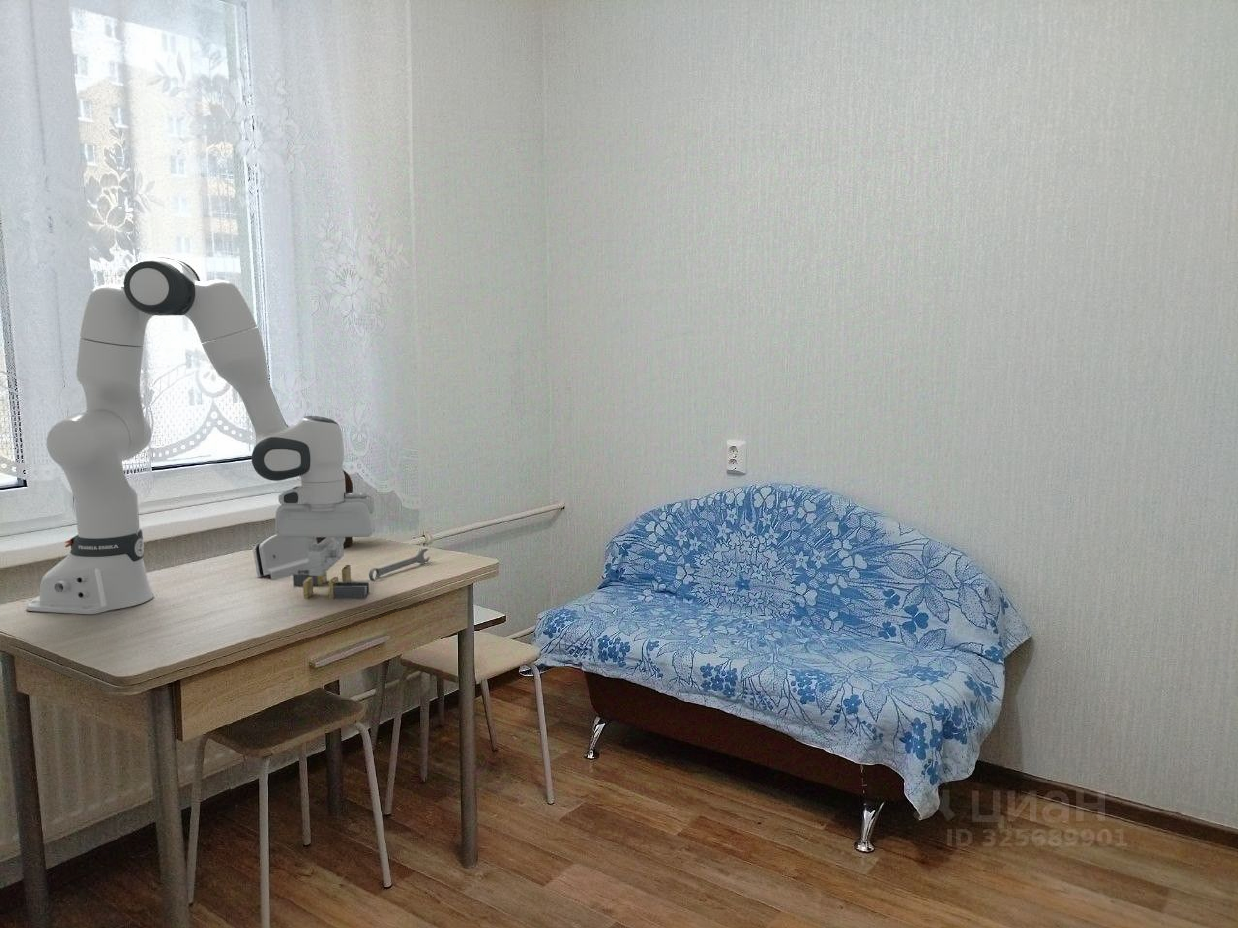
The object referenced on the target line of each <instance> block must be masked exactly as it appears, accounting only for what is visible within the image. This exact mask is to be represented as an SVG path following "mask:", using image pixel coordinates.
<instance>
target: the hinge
mask: <svg viewBox="0 0 1238 928" xmlns="http://www.w3.org/2000/svg"><path fill="white" fill-rule="evenodd" d="M314 542H315V544H316V545H317V544H318V543H317V541H316V540H315V541H314ZM310 550H311V548H310V546H309V545H308V543H307V537H292V538H280V537H279V536H278V535H277V534H276V533H275V534H274V535H271V536H269V537H266V538H265V539H263V540H262V541H260V542H259V543H258V544H256V545H255V546H254V547H253V548H252V553H253V557H254V558H253V559H254V563H255V564H254V565H255V570H256V576H257V578H262V577H266V576H270V579H271V580H272V581H274V580H278V579H281V578H285V577H288V576H293V574H298V570H309V561H308V551H310Z"/></svg>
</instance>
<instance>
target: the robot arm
mask: <svg viewBox="0 0 1238 928" xmlns="http://www.w3.org/2000/svg"><path fill="white" fill-rule="evenodd" d="M154 316H160V317H161V316H164V317H165V316H185V317H186V318H188V320H190V321H191V323H192V325H193V326H194V328H195V330H196V332H197V334H198V337H199V340H200V343H201V345H202V348H203V350H204V352H205V354H206V356H207V359H208V360H209V362H210V365H212V367H213V368H214V370H215V372H216V373H217V374H218V376H219V377H221V379H223V380H225V381H226V382H227V383H228V384H230V386H232V388H233V389H234V390H235V391H236V392H237V394H238V395H239V397H240V398H241V401H242V402H243V405H244V408H245V411H246V413H247V415H248V417H249V420H250V422H251V425H252V426H253V427H252V428H253V430H254V433H255V446H254V448H253V450H252V454H251V464H252V466H253V467H252V468H254V470H255V472H256V473H257V474H258V475H259V476H260V477H261V478H264V479H266V480H268V481H274V482H280V481H281V482H282V481H285V480H289V479H293V478H296V477H300V480H301V481H300V485H298V486H295V487H293V488H290V489H287V490H285V491H283V492H281V493H280V494H279V495H278V503H279V504H280V505H279V506H278V507H277V508H276V511H275V518H274V519H275V520H274V523H275V524H274V525H275V526H274V528H275V529H274V531H275V535H276V534H277V535H278V536H279V537H280V538H292V537H307V543H308V545H309V546H310V548H311V549H312V548H314V547H315V546H316V544H315V542H314V541H315V540H316V537H336V542H339V544H338V545H337V547H336V548H333V549H332V550H331V552H332V558H339V557H340V556H341V547H342V545H343V544H344V542H345V537H353V538H369V537H371V536H372V535H373V534H374V532H375V530H376V524H375V516H374V511H375V501H374V498H373V497H372V495H369V494H368V493H367V492H360V493H359V492H358V493H357V492H353V493H346V488H345V475H344V472H343V470H344V468H343V467H344V465H343V464H344V461H345V449H344V439H343V433H342V429H341V426H340V425H339V424H338V422H336V421H335V420H334V419H332V418H330V417H329V418H328V417H325V416H319V415H318V416H317V415H305V416H302V418H301V419H299V420H298V421H296V422H295V423H294V424H291V425H290V426H289V425H288V424H287V423H286V421H285V419H284V417H283V414H282V412H281V409H280V406H279V405H278V403H277V399H276V397H275V395H274V392H273V389H272V386H271V384H270V379H269V373H268V363H267V356H266V352H265V351H266V350H265V347H264V342H263V339H262V336H261V332H260V331H259V327H258V324H257V322H256V320H255V318H254V316H253V314H252V311H251V309H250V307H249V306H248V303H247V301H246V300H245V298H244V296H243V294H242V293H241V292H240V290H239V288H238V287H237V286H236V285H235V284H234V283H232V282H231V281H228V280H223V279H214V280H213V279H212V280H211V279H210V280H208V281H201V279H200V276H199V274H198V273H197V272H196V270H194V269H193V267H191V266H190V265H189V264H187V263H186V262H183V261H180V260H177V259H173V258H169V257H155V258H154V257H150V258H144V259H141V260H139V261H137V262H135V263H134V264H132V265H131V266H130V267H129V268H128V269H127V271H126V273H125V275H124V278H123V284H115V283H109V284H102V285H99V286H97V287H95V288H94V289H93V290H92V291H91V292H90V294H89V296H88V299H87V303H86V307H85V309H84V313H83V316H82V317H83V318H82V323H81V327H80V337H79V342H78V343H79V346H78V355H77V364H76V379H77V381H78V382H79V383H80V384H81V387H82V388H83V391H84V396H85V402H86V403H85V404H86V411H85V412H81V413H80V412H79V413H75V414H72V415H69V416H68V417H66V418H63V419H62V420H60V421H59V422H57V423H55V425H53V426H52V427H51V429H50V430H49V432H48V434H47V437H46V449H47V453H48V454H49V456H50V458H51V459H52V460H53V462H55V463H56V464H57V465H58V466H59V467H61V469H62V470H63V472H64V475H65V476H66V479H67V482H68V484H69V486H70V490H71V492H72V496H73V500H74V506H75V507H74V508H75V517H76V525H77V526H76V527H77V535H75V536H73V537H72V538H70V539H69V540H66V541H64V543H65V544H66V545H65V546H64V547H65V548H68V547H70V552H69V554H68V555H67V556H66V557H65V558H63V559H62V560H61V561H59V562H58V563H57V564H56V565H54V567H51V569H49V570H48V571H47V572H45V574H44V575H43V577H42V579H41V582H40V585H39V587H40V588H39V595H38V596H37V597H35V598H33V599H32V600H30V601H29V602H28V603H27V611H31V612H42V613H43V612H45V613H60V614H61V613H62V614H78V615H79V614H81V615H97V614H100V613H104V612H108V611H112V610H113V611H114V610H117V609H124V608H125V609H126V608H129V607H133V606H137V605H141V604H143V603H145V602H148V601H150V600H152V599H153V598H154V592H153V590H152V588H151V586H150V585H151V584H150V582H149V579H148V575H147V571H146V567H145V562H144V556H145V545H144V535H143V529H141V528H140V527H141V525H140V516H139V515H140V514H139V512H140V511H139V501H138V493H137V492H136V490H135V488H133V487H132V486H131V484H129V482H128V480H127V479H128V478H127V477H126V474H125V471H124V467H123V461H128V460H131V459H132V458H134V457H136V456H137V455H138V454H140V453H141V452H142V451H144V450H145V449H146V447H148V445H149V443H150V442H151V438H152V428H151V425H150V423H149V421H148V420H147V418H146V416H145V414H144V409H143V404H142V402H143V401H142V394H141V373H142V364H143V363H142V362H143V353H144V345H145V336H146V335H145V333H146V329H147V324H148V322H149V321H150V319H151V318H153V317H154Z"/></svg>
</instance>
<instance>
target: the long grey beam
mask: <svg viewBox="0 0 1238 928" xmlns="http://www.w3.org/2000/svg"><path fill="white" fill-rule="evenodd" d="M338 544H339V542H336V537H327V538H325V539H324V540H323V541H321V542H320V543H319V544H317V545H316V546H315V547H314V548H312V549H311V550H310V551H308V561H309V576H322V575H323V574H324V573H325V572H326V573H327V571H329V570H330V569H331V568H332V567H333V566H334V565H335V564H337V563H338V561H340V560H341V559H342V558H343V557H344V555H345V551H344V550H345V549H344V548H343V545H342V547H341V556H340V557H339V558H332V552H331V550H332V549H333V548H336V547H337V545H338Z"/></svg>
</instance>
